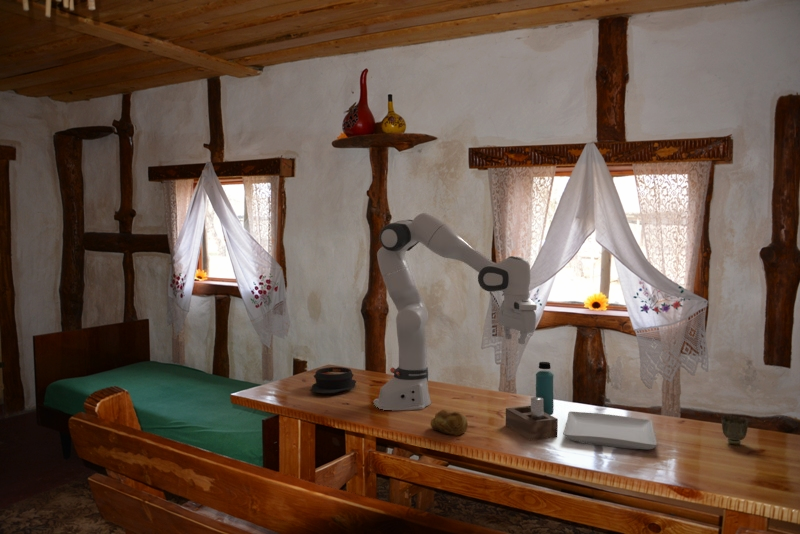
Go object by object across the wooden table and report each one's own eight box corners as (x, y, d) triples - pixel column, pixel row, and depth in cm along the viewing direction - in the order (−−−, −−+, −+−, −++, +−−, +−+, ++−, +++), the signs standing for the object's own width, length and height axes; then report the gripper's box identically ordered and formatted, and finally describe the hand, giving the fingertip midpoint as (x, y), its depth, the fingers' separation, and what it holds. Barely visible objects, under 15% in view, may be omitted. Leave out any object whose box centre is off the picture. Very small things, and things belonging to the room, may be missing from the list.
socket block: (530, 440, 182) (530, 422, 182) (505, 425, 197) (505, 408, 197) (557, 437, 186) (557, 418, 185) (530, 422, 201) (531, 405, 200)
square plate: (657, 456, 170) (658, 443, 170) (562, 445, 179) (562, 433, 179) (652, 428, 195) (652, 417, 195) (568, 420, 205) (568, 409, 205)
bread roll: (425, 431, 192) (425, 407, 192) (441, 424, 199) (441, 401, 199) (457, 439, 184) (457, 414, 183) (473, 431, 191) (473, 408, 191)
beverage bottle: (556, 416, 207) (557, 362, 206) (547, 421, 202) (548, 364, 202) (540, 413, 212) (541, 359, 211) (531, 417, 207) (532, 362, 206)
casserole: (329, 381, 260) (329, 363, 260) (366, 385, 253) (366, 366, 253) (299, 395, 237) (299, 374, 237) (339, 399, 230) (339, 379, 230)
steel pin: (535, 431, 185) (534, 400, 185) (528, 427, 189) (528, 397, 189) (546, 429, 186) (545, 399, 186) (539, 426, 190) (539, 396, 190)
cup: (747, 449, 174) (748, 423, 174) (720, 445, 178) (720, 419, 178) (748, 442, 181) (748, 417, 180) (721, 438, 185) (721, 413, 184)
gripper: (494, 299, 211) (493, 336, 212) (523, 306, 192) (521, 347, 193) (509, 299, 213) (508, 336, 214) (539, 306, 194) (537, 346, 195)
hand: (514, 341), depth 203 cm, fingers open, 8 cm apart
